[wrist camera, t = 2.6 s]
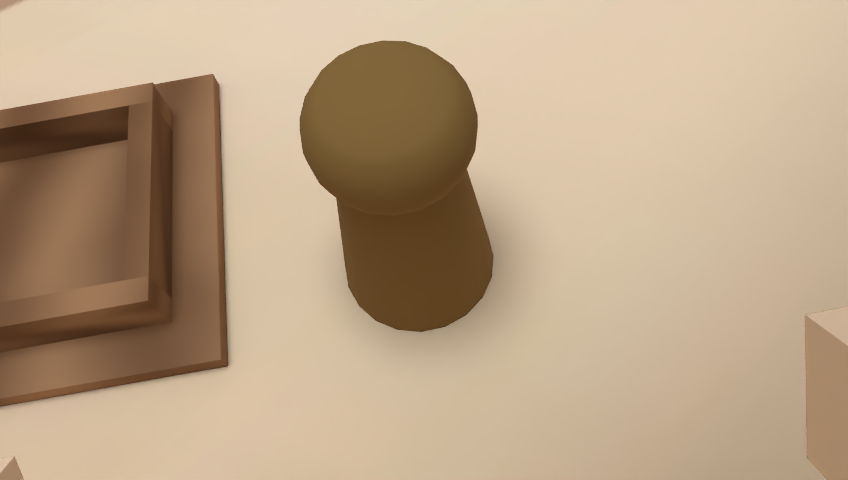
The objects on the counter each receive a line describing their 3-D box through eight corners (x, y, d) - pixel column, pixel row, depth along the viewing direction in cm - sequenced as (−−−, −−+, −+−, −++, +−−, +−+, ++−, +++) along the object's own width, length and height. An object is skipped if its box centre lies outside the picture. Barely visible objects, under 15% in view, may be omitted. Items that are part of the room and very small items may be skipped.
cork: (400, 173, 32) (357, -21, 22) (521, 239, 30) (533, 57, 20) (315, 283, 30) (227, 123, 20) (440, 360, 28) (409, 224, 18)
